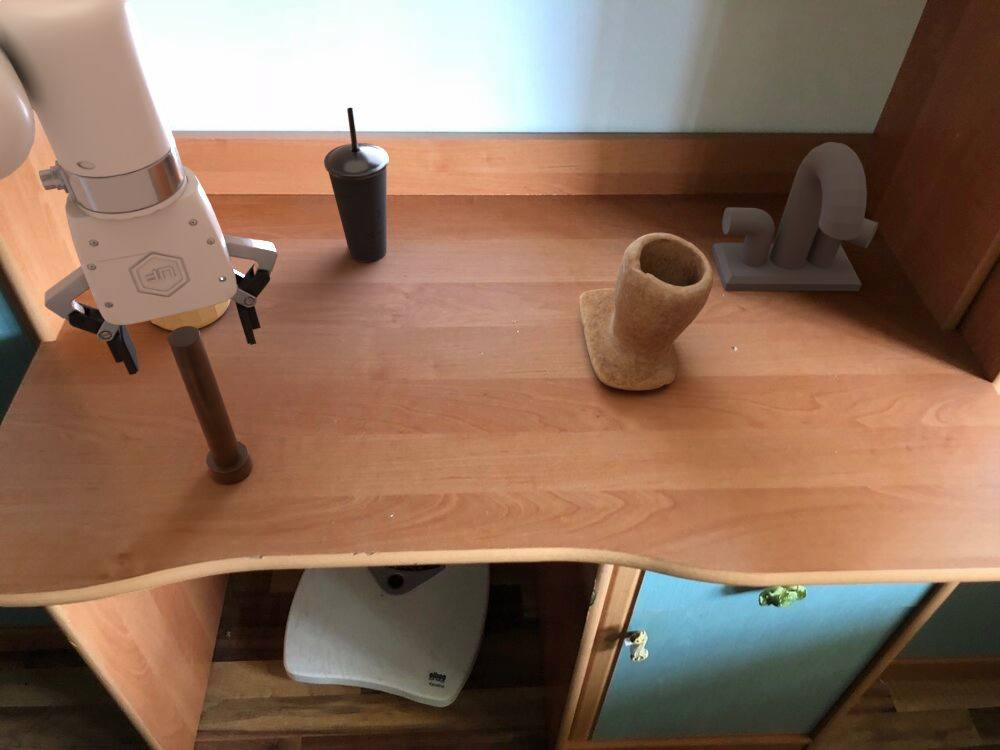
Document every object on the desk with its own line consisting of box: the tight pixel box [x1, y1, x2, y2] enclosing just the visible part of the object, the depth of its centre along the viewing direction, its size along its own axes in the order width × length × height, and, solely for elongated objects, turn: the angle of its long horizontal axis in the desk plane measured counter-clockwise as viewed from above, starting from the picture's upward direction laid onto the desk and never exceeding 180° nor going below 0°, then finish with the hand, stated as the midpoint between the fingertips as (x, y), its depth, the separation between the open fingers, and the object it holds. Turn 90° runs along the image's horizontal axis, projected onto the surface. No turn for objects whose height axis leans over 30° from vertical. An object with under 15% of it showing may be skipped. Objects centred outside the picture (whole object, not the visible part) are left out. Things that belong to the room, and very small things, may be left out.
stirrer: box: [167, 326, 253, 486], centre depth 73 cm, size 4×4×18 cm
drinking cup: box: [323, 107, 390, 263], centre depth 97 cm, size 8×8×20 cm
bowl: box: [149, 299, 232, 332], centre depth 94 cm, size 10×10×6 cm
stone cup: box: [578, 232, 714, 392], centre depth 87 cm, size 15×12×15 cm
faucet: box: [710, 141, 879, 292], centre depth 94 cm, size 18×16×20 cm
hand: (192, 348), depth 68 cm, fingers open, 9 cm apart
